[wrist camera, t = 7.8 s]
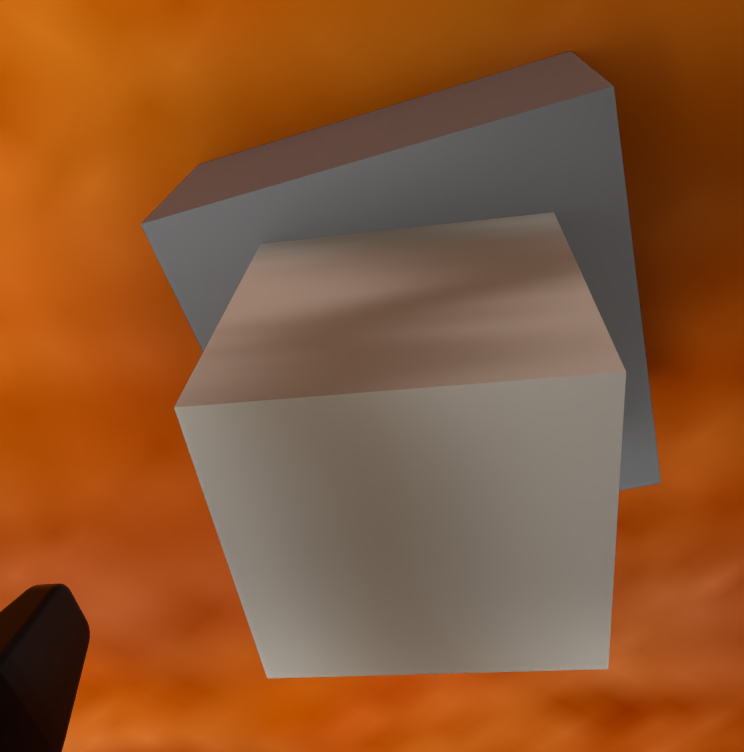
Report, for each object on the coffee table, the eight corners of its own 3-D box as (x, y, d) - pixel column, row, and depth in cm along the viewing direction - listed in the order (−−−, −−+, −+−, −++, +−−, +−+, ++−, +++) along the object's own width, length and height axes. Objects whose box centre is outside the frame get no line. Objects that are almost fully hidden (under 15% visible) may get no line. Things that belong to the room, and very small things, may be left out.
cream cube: (553, 211, 12) (626, 372, 7) (554, 450, 14) (608, 669, 10) (260, 243, 12) (173, 407, 8) (312, 466, 15) (266, 678, 11)
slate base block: (568, 48, 14) (614, 85, 11) (616, 379, 18) (661, 483, 15) (202, 160, 16) (140, 224, 12) (320, 440, 20) (298, 546, 16)
